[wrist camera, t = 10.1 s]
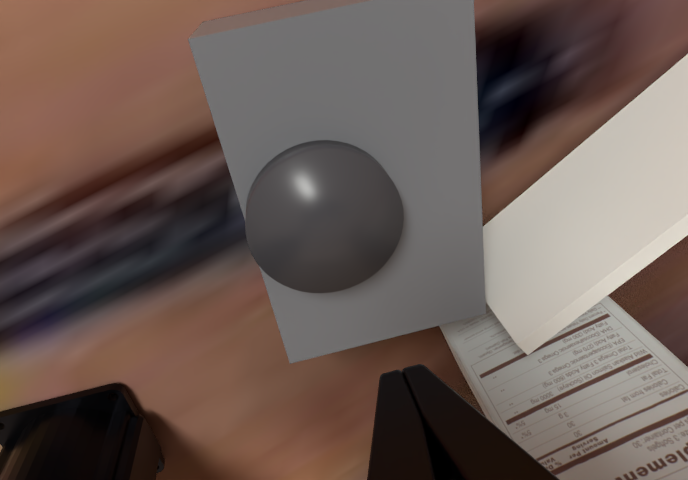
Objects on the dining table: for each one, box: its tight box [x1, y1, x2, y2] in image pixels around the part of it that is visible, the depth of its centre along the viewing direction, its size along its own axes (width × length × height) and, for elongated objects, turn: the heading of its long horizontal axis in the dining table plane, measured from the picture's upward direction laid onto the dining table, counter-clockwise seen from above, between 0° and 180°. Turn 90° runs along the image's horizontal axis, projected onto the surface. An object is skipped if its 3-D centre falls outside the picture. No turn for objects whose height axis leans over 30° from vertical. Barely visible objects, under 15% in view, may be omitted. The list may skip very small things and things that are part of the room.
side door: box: [483, 54, 688, 355], centre depth 20 cm, size 1×16×7 cm, turn 132°
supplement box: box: [439, 295, 688, 480], centre depth 22 cm, size 7×7×13 cm
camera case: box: [188, 0, 486, 364], centre depth 18 cm, size 8×12×6 cm, turn 10°
